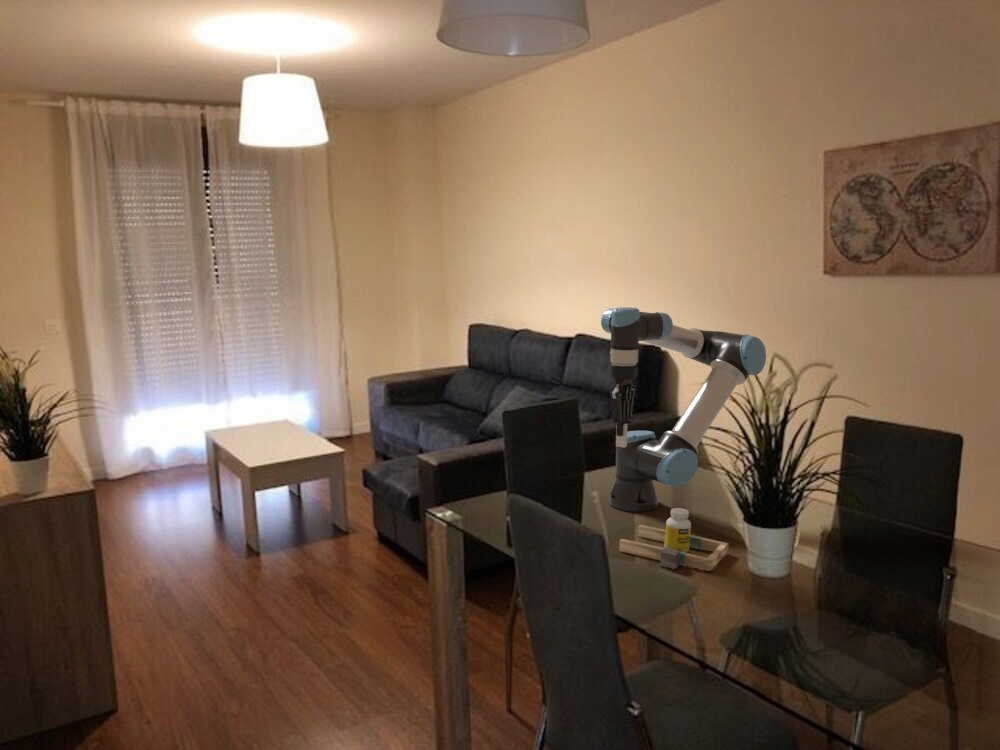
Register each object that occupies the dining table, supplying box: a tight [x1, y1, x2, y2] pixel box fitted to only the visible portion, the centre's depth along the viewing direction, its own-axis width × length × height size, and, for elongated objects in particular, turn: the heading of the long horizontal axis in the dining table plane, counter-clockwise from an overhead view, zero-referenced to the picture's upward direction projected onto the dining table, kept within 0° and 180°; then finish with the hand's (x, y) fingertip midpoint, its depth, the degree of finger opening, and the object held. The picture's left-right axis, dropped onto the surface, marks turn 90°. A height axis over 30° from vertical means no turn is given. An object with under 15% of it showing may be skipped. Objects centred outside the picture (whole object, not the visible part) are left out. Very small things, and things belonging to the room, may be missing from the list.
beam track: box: [618, 524, 729, 570], centre depth 216 cm, size 18×25×4 cm
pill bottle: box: [663, 507, 692, 554], centre depth 216 cm, size 6×6×12 cm
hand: (621, 446), depth 230 cm, fingers closed
